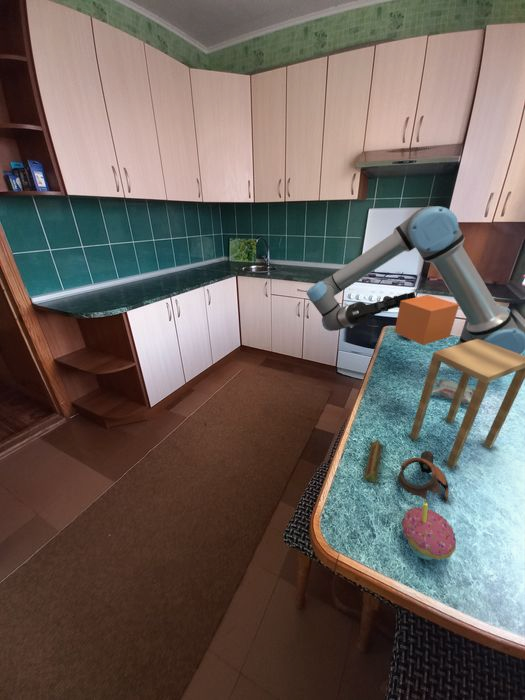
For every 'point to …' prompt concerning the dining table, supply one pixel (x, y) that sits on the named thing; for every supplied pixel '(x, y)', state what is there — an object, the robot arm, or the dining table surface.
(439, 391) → the packaged food
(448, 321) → the orange handled block
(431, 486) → the rusty ring bracket
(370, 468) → the chocolate bar
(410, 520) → the cupcake
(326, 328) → the robot arm
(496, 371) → the wooden stool
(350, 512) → the dining table surface
